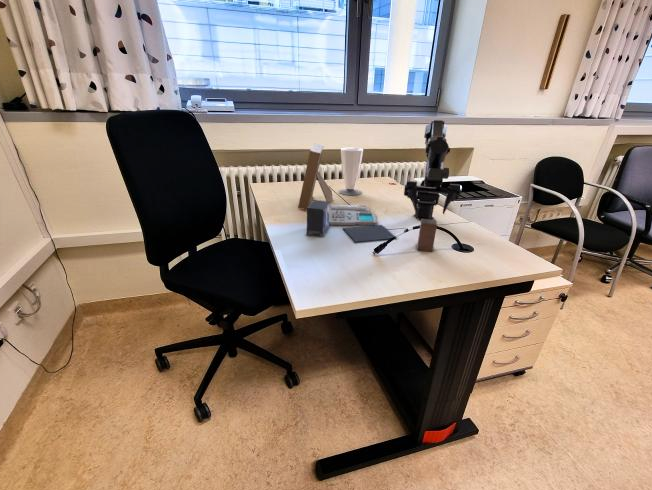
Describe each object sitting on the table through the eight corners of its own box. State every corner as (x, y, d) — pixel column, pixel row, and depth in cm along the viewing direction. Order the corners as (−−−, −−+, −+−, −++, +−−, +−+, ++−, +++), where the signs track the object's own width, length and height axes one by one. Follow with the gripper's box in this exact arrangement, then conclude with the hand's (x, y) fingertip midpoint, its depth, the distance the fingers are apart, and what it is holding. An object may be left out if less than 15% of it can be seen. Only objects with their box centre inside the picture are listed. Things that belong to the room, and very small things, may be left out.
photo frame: (298, 209, 151) (296, 150, 138) (303, 196, 169) (302, 143, 157) (331, 210, 150) (332, 151, 138) (333, 197, 169) (334, 144, 157)
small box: (323, 237, 123) (323, 209, 118) (306, 235, 124) (305, 207, 119) (329, 227, 132) (330, 200, 127) (313, 226, 133) (313, 199, 128)
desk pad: (381, 225, 135) (381, 224, 135) (396, 238, 123) (396, 237, 123) (343, 229, 131) (343, 228, 131) (354, 242, 119) (354, 241, 119)
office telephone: (329, 202, 153) (373, 203, 153) (329, 208, 154) (372, 209, 154) (327, 218, 133) (377, 220, 133) (326, 225, 134) (377, 226, 134)
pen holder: (417, 244, 119) (421, 218, 114) (431, 246, 118) (436, 219, 114) (417, 250, 115) (421, 223, 110) (432, 251, 114) (437, 224, 109)
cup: (338, 189, 183) (339, 147, 172) (359, 189, 184) (361, 147, 174) (340, 195, 173) (342, 150, 163) (362, 195, 174) (365, 150, 164)
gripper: (408, 156, 112) (403, 197, 108) (467, 159, 109) (463, 202, 105) (406, 175, 123) (401, 214, 119) (459, 179, 120) (456, 219, 116)
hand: (429, 212), depth 114 cm, fingers open, 9 cm apart
